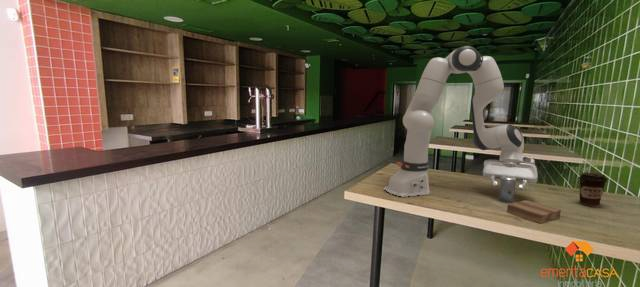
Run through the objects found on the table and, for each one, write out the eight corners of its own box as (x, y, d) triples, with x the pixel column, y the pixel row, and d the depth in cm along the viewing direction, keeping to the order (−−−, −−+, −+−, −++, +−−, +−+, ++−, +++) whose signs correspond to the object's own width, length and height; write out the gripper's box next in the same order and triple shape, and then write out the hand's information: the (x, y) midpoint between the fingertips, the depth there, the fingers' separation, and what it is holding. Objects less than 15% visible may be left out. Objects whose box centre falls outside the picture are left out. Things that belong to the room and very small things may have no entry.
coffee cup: (606, 210, 115) (611, 178, 113) (578, 206, 119) (582, 175, 117) (600, 203, 122) (604, 173, 120) (574, 199, 126) (578, 170, 124)
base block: (540, 223, 103) (541, 215, 102) (506, 212, 114) (507, 204, 113) (559, 217, 108) (560, 210, 107) (525, 206, 119) (526, 199, 118)
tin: (508, 203, 122) (510, 180, 121) (496, 199, 127) (498, 176, 126) (516, 201, 124) (519, 178, 123) (504, 198, 129) (506, 175, 128)
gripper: (484, 155, 135) (480, 180, 129) (539, 159, 123) (537, 187, 117) (484, 162, 139) (480, 187, 133) (537, 168, 128) (535, 195, 121)
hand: (507, 187), depth 125 cm, fingers open, 8 cm apart
